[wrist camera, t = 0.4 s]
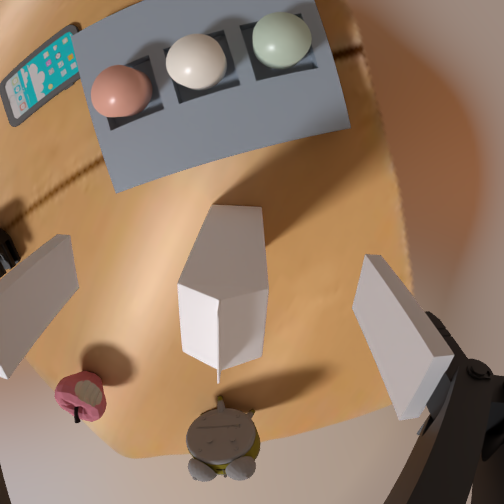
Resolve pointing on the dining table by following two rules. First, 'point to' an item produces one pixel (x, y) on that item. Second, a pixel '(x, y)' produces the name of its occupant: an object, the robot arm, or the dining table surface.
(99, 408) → the apple
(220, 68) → the button cream
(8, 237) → the end cap
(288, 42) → the button sage
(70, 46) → the smartphone
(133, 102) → the button terracotta
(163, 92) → the console
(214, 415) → the alarm clock
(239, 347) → the milk
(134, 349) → the dining table surface
